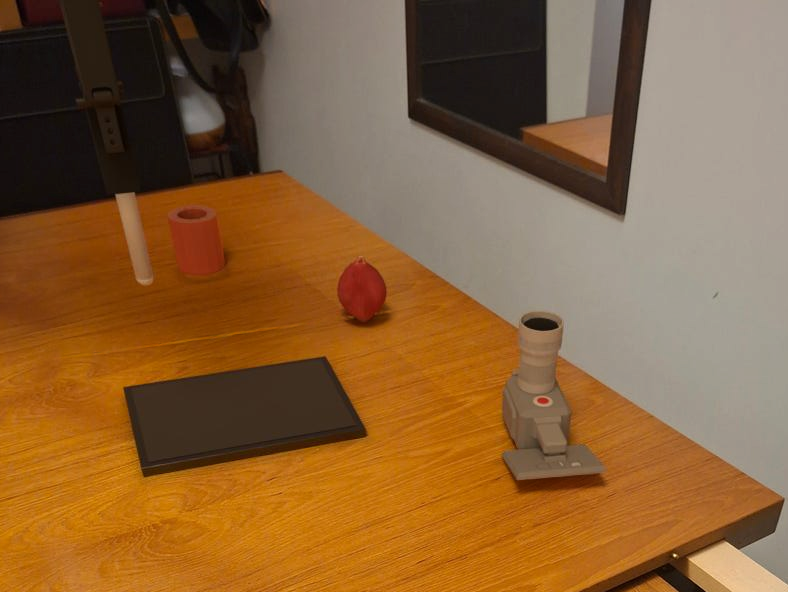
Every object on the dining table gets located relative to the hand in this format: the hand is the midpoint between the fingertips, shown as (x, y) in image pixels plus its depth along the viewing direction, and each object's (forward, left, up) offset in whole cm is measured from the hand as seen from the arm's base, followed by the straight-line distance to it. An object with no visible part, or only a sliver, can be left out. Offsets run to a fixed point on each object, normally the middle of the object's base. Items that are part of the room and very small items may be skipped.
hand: (122, 186), depth 76 cm
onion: (-16, +25, -23) cm, 37 cm away
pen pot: (-37, +9, -23) cm, 44 cm away
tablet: (+1, +7, -23) cm, 24 cm away
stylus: (0, 0, -8) cm, 8 cm away
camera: (+17, +34, -23) cm, 44 cm away
